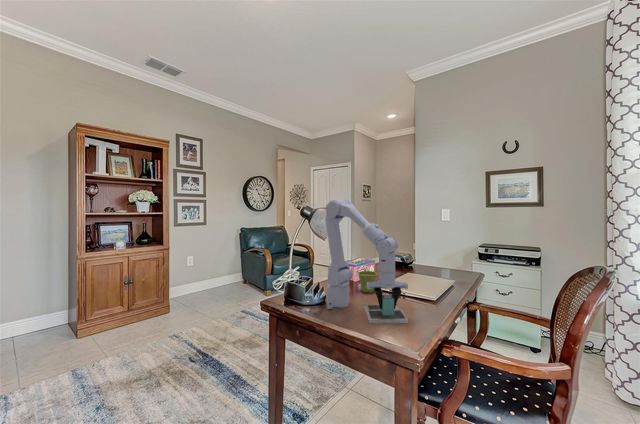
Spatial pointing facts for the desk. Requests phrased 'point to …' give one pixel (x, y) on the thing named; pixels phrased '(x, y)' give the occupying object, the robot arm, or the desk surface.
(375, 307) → the lid
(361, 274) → the plant pot
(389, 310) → the block
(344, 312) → the desk surface
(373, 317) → the case
